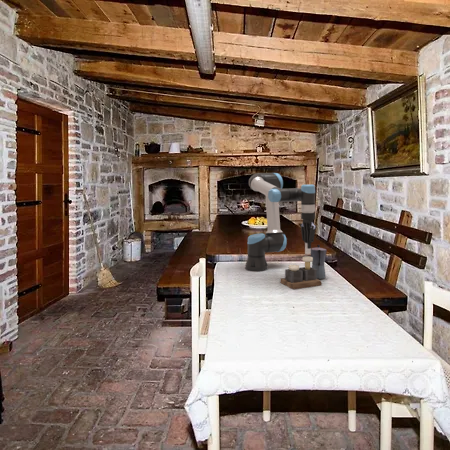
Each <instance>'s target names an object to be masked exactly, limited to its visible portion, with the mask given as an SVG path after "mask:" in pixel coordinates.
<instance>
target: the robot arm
mask: <svg viewBox="0 0 450 450" xmlns="http://www.w3.org/2000/svg"><path fill="white" fill-rule="evenodd" d="M248 187H250V190H253V191H254V192H259V193H261V194H262V195H264V196H265V210H266V225H267V231H265V233H263V232H261V233H252V234H251V235H249V236H248V237H247V259H246V262H245V265H244V266H245V267H244V268H245V270H246V271H250V272H265V271H267V270H269V267H268V265H269V264H268V263H267V259H266V253H276V252H277V253H279V252H282V251H284V250H285V249H286V247H287V244H288V243H287V242H288V241H287V240H288V238H287V237H286V234H285V233H284V231H282V230H281V222H280V221H281V220H280V205H279V203H285V202H287V203H288V202H300V208H301V211H300V212H301V213H300V217H301V220H302V223H300V224H299V227H300V231H301V233H300V234H301V240H302V241H303V242H304V254H305V255H311V249H312V243H314V241H315V234H316V229H317V225H315V222H314V220H315V219H316V213H315V212H316V185H315V184H302V185H301V186H300V188H298V187H295V188H294V187H293V188H283V187H284V180H283V177H282V176H281V174H280V173H277V172H257V173H254V174H252V175H251V176H250V178H249V179H248Z"/></svg>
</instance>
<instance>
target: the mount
mask: <svg viewBox="0 0 450 450" xmlns="http://www.w3.org/2000/svg"><path fill="white" fill-rule="evenodd" d="M280 283H281V284H282V285H285V287H288V288H290V289H292V290H299V289H306V288H314V287H320V286H323V285H322V283H323V281H322V280H321V279H316V269H314V268H312V266H310V270H306V269H305V266H304V267H299V270H297V271H293V272H292V271H291V270H289V268H288V269H287V268H286V269H284V277H282V278H280Z"/></svg>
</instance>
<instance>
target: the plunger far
mask: <svg viewBox="0 0 450 450" xmlns="http://www.w3.org/2000/svg"><path fill="white" fill-rule="evenodd" d="M312 261H313V257H311V256H307V255H306V256H302V262H304V267H305V269H306V270H310V267H311V263H312Z"/></svg>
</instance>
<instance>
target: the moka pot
mask: <svg viewBox="0 0 450 450" xmlns="http://www.w3.org/2000/svg"><path fill="white" fill-rule="evenodd" d="M320 246H321V245H320V244H317V247H311V254H310V257H313V261H312V262H311V268H314V269H316V279H318V280H323V279H325V278H327V277H326V268H325V262H326V258H327V249H326V248H323V247H320Z"/></svg>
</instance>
